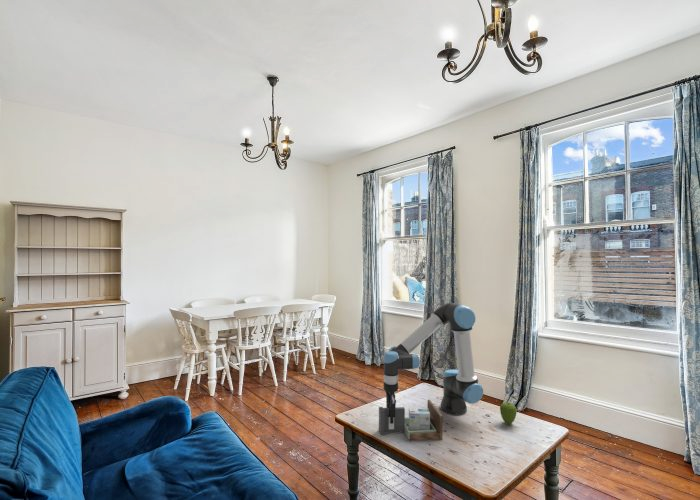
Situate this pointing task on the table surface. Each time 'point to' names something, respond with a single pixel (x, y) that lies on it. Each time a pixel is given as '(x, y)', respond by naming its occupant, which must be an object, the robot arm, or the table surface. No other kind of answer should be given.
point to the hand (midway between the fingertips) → (390, 427)
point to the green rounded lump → (508, 412)
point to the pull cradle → (398, 422)
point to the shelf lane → (436, 421)
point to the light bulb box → (419, 419)
